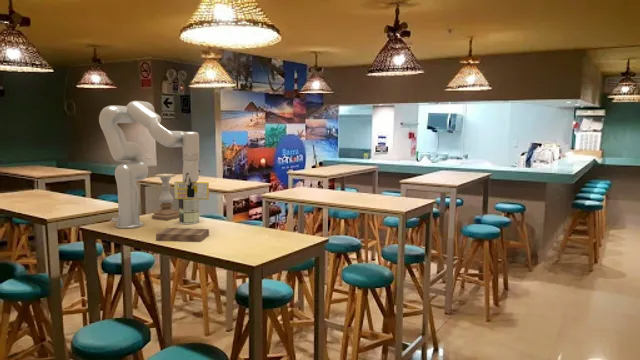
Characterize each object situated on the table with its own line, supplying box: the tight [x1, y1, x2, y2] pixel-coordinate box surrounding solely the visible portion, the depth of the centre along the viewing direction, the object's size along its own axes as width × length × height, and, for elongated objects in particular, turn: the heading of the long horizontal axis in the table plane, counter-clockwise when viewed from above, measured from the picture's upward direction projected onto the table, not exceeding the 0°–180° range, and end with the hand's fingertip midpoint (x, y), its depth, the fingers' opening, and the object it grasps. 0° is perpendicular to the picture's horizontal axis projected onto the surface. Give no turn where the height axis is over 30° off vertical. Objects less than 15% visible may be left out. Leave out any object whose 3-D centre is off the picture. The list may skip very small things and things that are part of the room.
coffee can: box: [178, 199, 200, 225], centre depth 240 cm, size 10×10×14 cm
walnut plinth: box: [155, 227, 210, 243], centre depth 207 cm, size 20×12×3 cm, turn 86°
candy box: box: [173, 181, 210, 201], centre depth 218 cm, size 16×2×8 cm, turn 87°
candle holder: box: [151, 173, 179, 222], centre depth 250 cm, size 11×11×24 cm
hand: (191, 196), depth 218 cm, fingers closed on candy box, 2 cm apart
